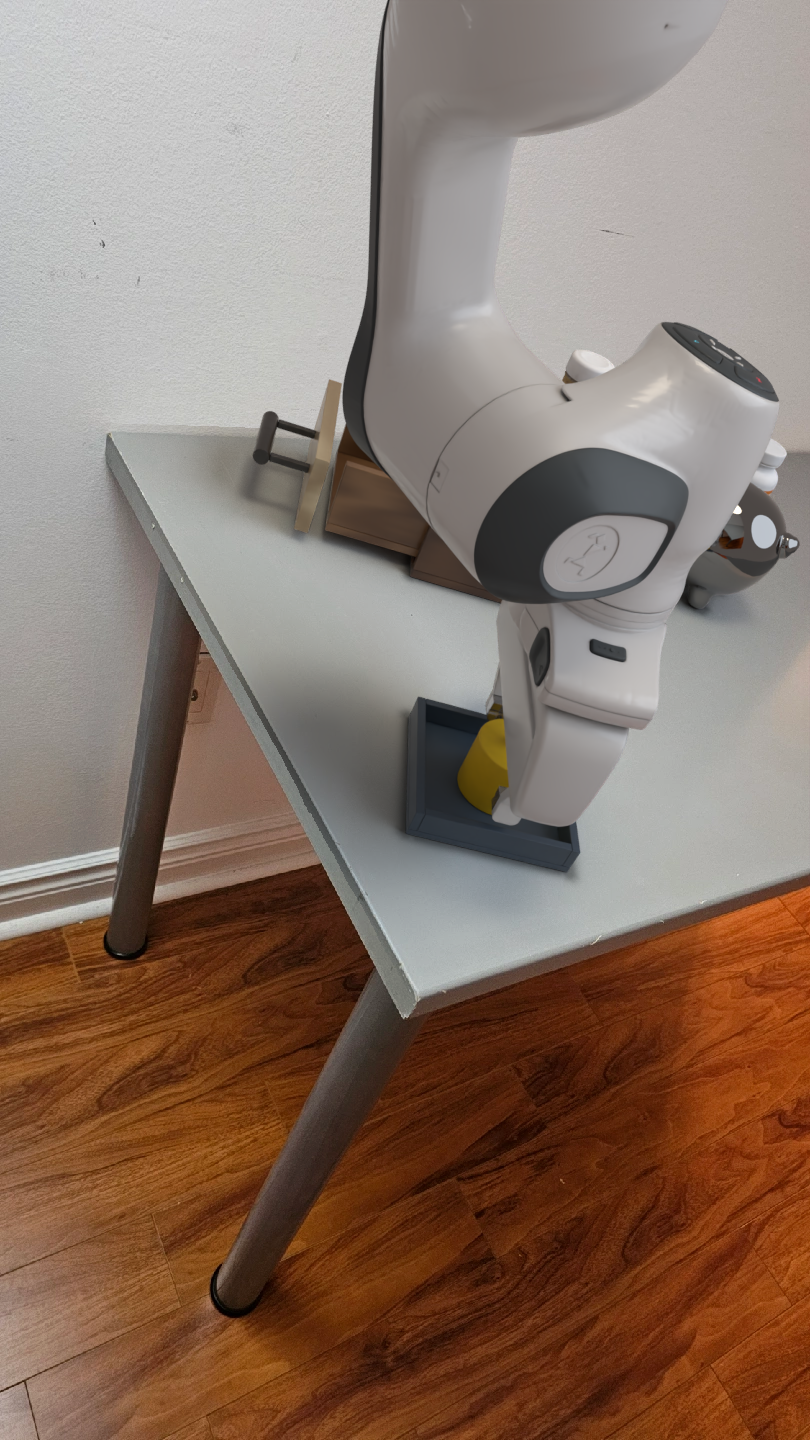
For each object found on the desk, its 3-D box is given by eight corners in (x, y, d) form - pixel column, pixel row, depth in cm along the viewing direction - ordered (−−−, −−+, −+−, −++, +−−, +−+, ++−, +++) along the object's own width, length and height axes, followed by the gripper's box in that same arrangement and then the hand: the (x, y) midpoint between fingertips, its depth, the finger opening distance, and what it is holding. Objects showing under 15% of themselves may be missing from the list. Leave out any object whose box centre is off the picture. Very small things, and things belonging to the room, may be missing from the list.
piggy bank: (636, 524, 109) (690, 426, 102) (762, 602, 106) (828, 506, 99) (594, 559, 101) (650, 455, 94) (730, 644, 98) (799, 543, 90)
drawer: (237, 512, 85) (256, 439, 81) (259, 430, 96) (276, 361, 92) (460, 578, 89) (489, 511, 85) (457, 492, 100) (483, 428, 96)
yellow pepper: (457, 807, 70) (486, 753, 66) (456, 753, 74) (483, 699, 70) (530, 825, 71) (562, 773, 67) (525, 771, 75) (555, 719, 71)
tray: (405, 833, 67) (416, 812, 66) (408, 716, 75) (417, 695, 74) (567, 872, 69) (580, 852, 68) (552, 754, 78) (564, 734, 76)
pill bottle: (736, 558, 111) (794, 468, 104) (682, 533, 111) (737, 441, 104) (738, 532, 116) (794, 445, 109) (687, 509, 116) (740, 420, 109)
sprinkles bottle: (524, 461, 112) (578, 342, 103) (563, 479, 111) (620, 362, 103) (514, 477, 108) (569, 356, 100) (555, 496, 108) (613, 376, 99)
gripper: (525, 497, 69) (452, 654, 78) (552, 702, 54) (457, 869, 63) (613, 525, 70) (531, 676, 79) (663, 732, 55) (555, 892, 64)
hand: (498, 763), depth 71 cm, fingers open, 8 cm apart
